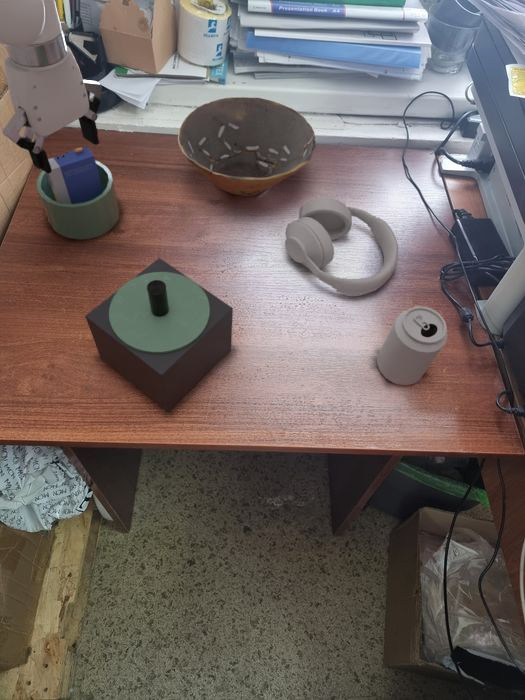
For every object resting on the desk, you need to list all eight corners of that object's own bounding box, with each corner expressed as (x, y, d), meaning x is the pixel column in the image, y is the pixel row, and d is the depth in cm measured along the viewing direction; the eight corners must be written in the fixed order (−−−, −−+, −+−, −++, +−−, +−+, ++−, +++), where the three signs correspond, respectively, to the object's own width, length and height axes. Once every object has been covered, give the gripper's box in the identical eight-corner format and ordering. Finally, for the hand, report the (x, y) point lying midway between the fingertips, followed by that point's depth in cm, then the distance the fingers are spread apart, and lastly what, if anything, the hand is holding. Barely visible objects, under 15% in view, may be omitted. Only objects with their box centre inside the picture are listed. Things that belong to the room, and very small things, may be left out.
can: (400, 396, 77) (428, 355, 67) (365, 362, 80) (387, 318, 70) (432, 370, 80) (463, 327, 70) (397, 339, 83) (422, 293, 73)
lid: (161, 372, 64) (157, 350, 59) (88, 315, 67) (79, 290, 63) (230, 308, 70) (231, 283, 65) (159, 259, 73) (155, 233, 69)
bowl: (312, 150, 107) (321, 106, 99) (300, 232, 94) (309, 189, 86) (196, 131, 108) (194, 85, 99) (167, 210, 94) (163, 165, 86)
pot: (81, 250, 88) (71, 217, 81) (34, 216, 91) (20, 182, 85) (133, 213, 93) (127, 180, 87) (87, 182, 97) (78, 148, 90)
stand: (168, 413, 73) (161, 375, 63) (100, 358, 76) (84, 315, 67) (231, 350, 79) (233, 308, 70) (165, 303, 83) (159, 257, 74)
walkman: (100, 200, 94) (86, 144, 84) (106, 209, 93) (93, 153, 83) (59, 216, 91) (39, 159, 81) (66, 225, 90) (47, 169, 80)
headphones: (265, 264, 88) (366, 321, 87) (274, 235, 81) (384, 295, 80) (308, 203, 97) (400, 253, 96) (320, 172, 91) (419, 225, 89)
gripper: (68, 12, 72) (93, 121, 87) (-40, 58, 64) (8, 169, 79) (104, 32, 70) (124, 140, 85) (-2, 82, 62) (40, 192, 77)
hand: (68, 154), depth 82 cm, fingers open, 9 cm apart
